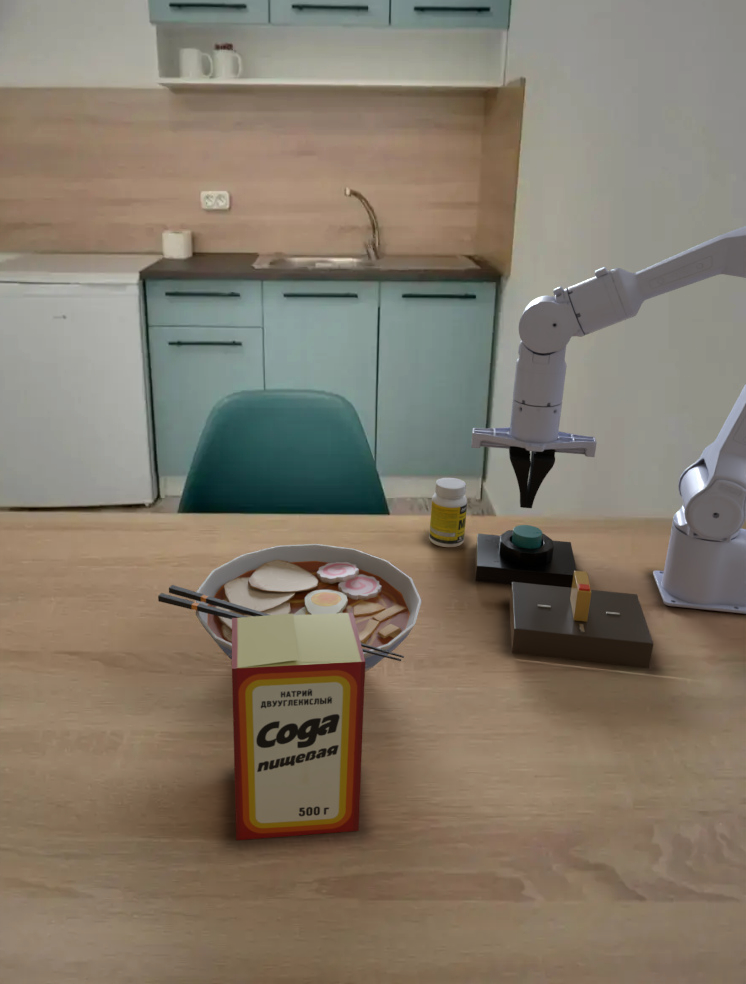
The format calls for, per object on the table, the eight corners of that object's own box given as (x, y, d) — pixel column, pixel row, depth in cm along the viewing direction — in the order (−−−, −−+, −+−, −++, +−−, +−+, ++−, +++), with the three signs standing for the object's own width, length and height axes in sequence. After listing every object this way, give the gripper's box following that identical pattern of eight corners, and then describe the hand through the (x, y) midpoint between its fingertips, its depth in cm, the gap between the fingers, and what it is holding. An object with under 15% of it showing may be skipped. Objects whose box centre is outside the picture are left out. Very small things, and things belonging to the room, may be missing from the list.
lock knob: (570, 598, 92) (574, 568, 91) (582, 600, 92) (587, 569, 91) (573, 620, 88) (578, 588, 87) (587, 622, 88) (591, 590, 87)
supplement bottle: (462, 550, 109) (467, 491, 107) (427, 546, 110) (431, 488, 107) (465, 534, 114) (469, 477, 111) (430, 530, 115) (434, 474, 112)
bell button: (540, 538, 105) (541, 526, 105) (541, 551, 102) (543, 538, 101) (511, 535, 106) (512, 523, 105) (512, 548, 102) (513, 536, 102)
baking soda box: (347, 771, 71) (353, 608, 65) (358, 830, 65) (365, 657, 59) (235, 778, 70) (231, 614, 64) (236, 840, 64) (231, 664, 58)
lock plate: (633, 616, 95) (637, 592, 94) (649, 668, 86) (653, 642, 85) (509, 603, 97) (511, 580, 96) (511, 652, 88) (514, 627, 87)
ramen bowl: (456, 632, 91) (462, 566, 88) (376, 765, 72) (380, 686, 69) (259, 580, 101) (258, 519, 98) (141, 684, 81) (135, 612, 78)
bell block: (568, 557, 108) (572, 529, 107) (575, 591, 100) (579, 562, 99) (476, 548, 110) (478, 520, 109) (475, 581, 102) (477, 552, 100)
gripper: (475, 405, 95) (466, 512, 100) (605, 414, 93) (589, 523, 98) (475, 388, 102) (467, 490, 106) (597, 396, 100) (583, 499, 104)
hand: (525, 504), depth 103 cm, fingers closed
